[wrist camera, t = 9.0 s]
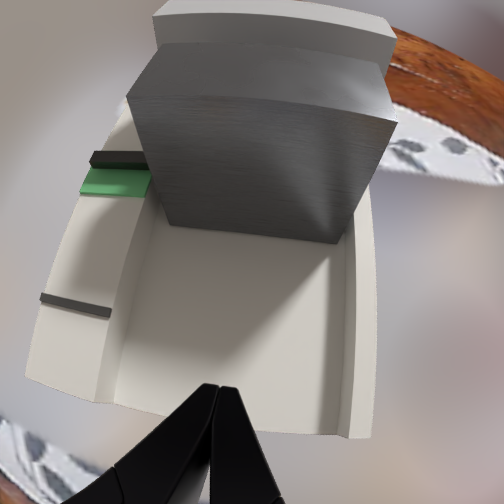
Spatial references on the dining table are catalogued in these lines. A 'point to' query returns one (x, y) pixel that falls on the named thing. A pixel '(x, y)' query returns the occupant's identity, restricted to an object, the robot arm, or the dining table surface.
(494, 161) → the dining table surface
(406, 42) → the dining table surface
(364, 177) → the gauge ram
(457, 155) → the dining table surface
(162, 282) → the gauge track
